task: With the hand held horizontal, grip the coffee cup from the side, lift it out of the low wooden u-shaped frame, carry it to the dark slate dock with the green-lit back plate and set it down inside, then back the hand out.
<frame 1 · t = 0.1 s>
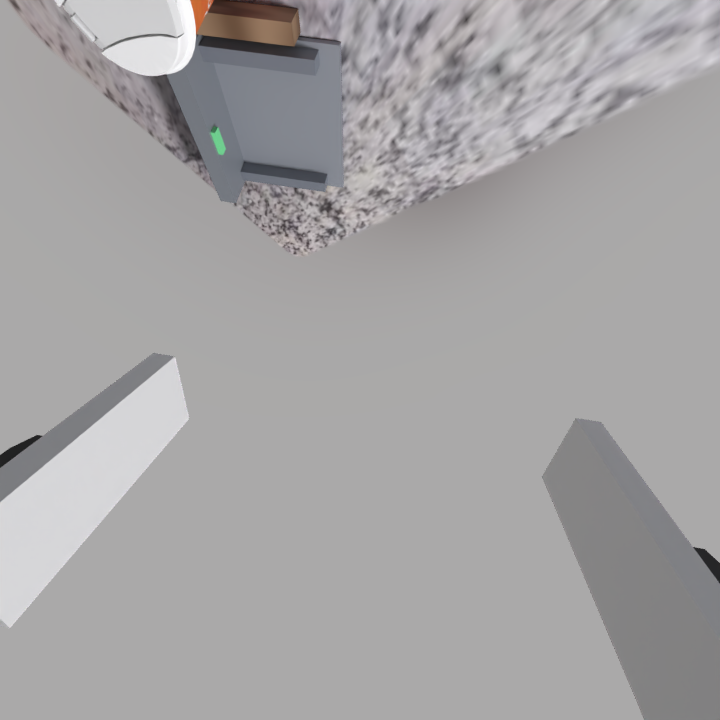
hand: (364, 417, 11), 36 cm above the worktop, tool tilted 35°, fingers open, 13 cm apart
port dock: (278, 117, 38), on the worktop
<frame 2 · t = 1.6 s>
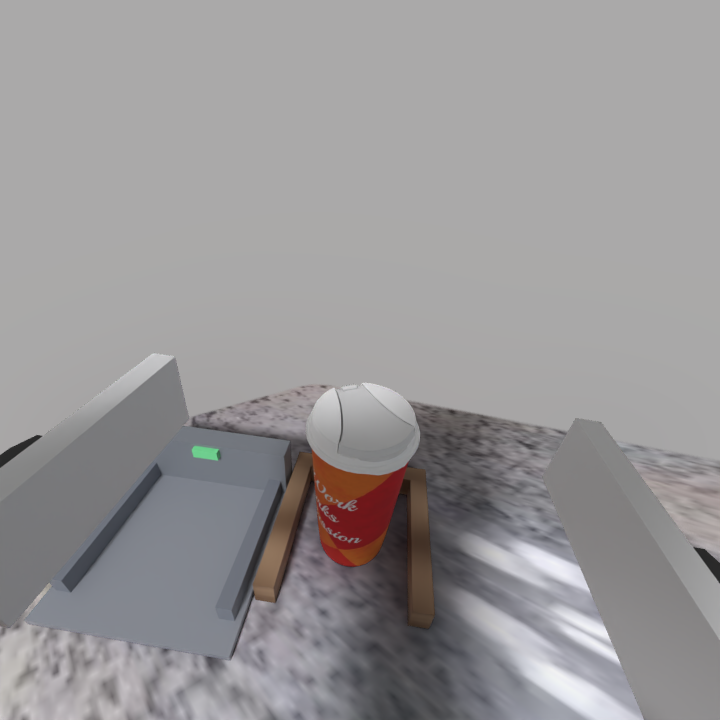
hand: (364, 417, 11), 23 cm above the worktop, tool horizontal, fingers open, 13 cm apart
wooden u-shaped frame: (351, 534, 31), on the worktop
coffee cup: (351, 535, 31), on the worktop
port dock: (186, 538, 30), on the worktop
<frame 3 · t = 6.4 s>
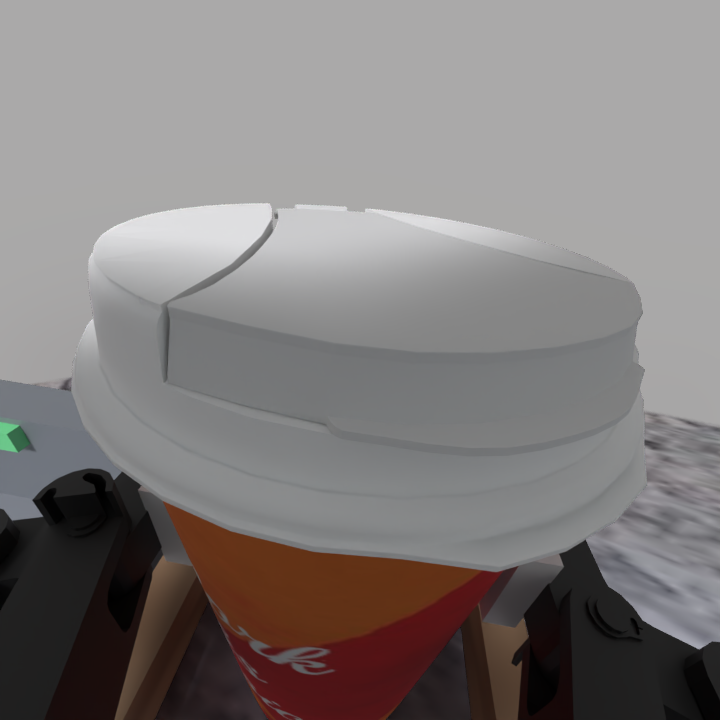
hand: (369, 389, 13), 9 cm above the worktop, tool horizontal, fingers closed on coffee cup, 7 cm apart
wooden u-shaped frame: (331, 638, 13), on the worktop
coffee cup: (331, 640, 13), on the worktop, touching gripper
when the fingers open (10 cm above the worktop, at t = 11.3 s): coffee cup moves 3 cm, resting on port dock.
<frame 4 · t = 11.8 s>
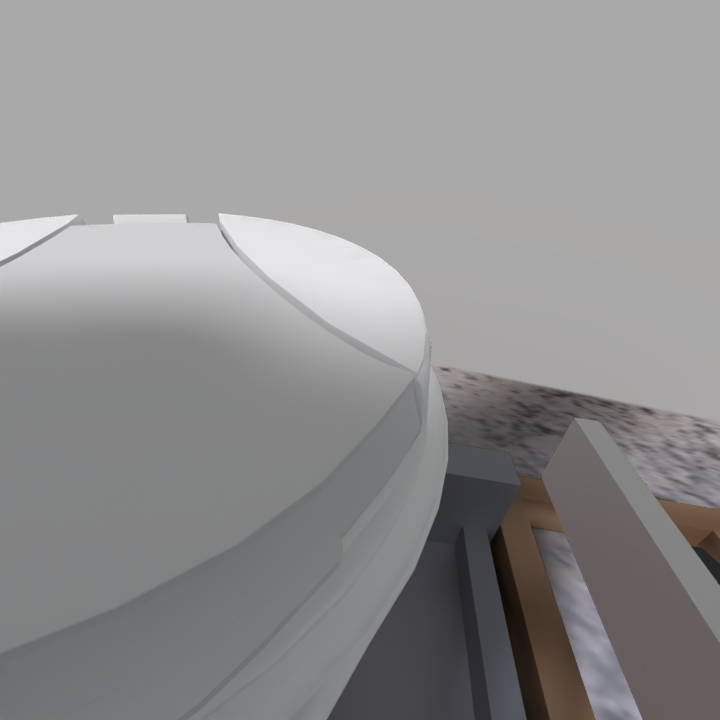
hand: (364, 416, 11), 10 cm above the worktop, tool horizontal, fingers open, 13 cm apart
wooden u-shaped frame: (649, 647, 15), on the worktop
coffee cup: (258, 652, 13), point 1 cm above the worktop, touching gripper, port dock
port dock: (327, 657, 14), on the worktop
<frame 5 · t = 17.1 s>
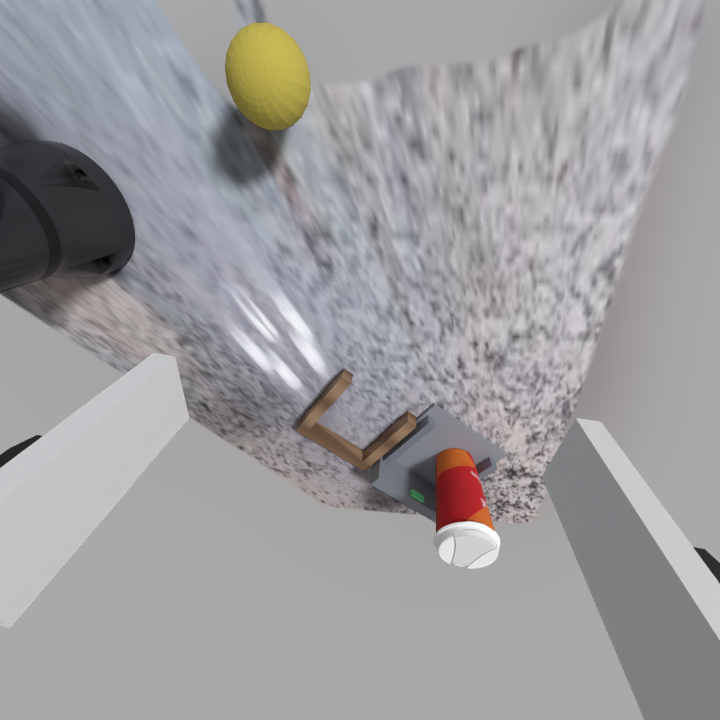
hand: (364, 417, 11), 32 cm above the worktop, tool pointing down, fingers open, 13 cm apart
wooden u-shaped frame: (356, 417, 53), on the worktop
coffee cup: (454, 459, 54), resting on port dock
light bulb: (294, 94, 33), on the worktop
port dock: (437, 454, 55), on the worktop
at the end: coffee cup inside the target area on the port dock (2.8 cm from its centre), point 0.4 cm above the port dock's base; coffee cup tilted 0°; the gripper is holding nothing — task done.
